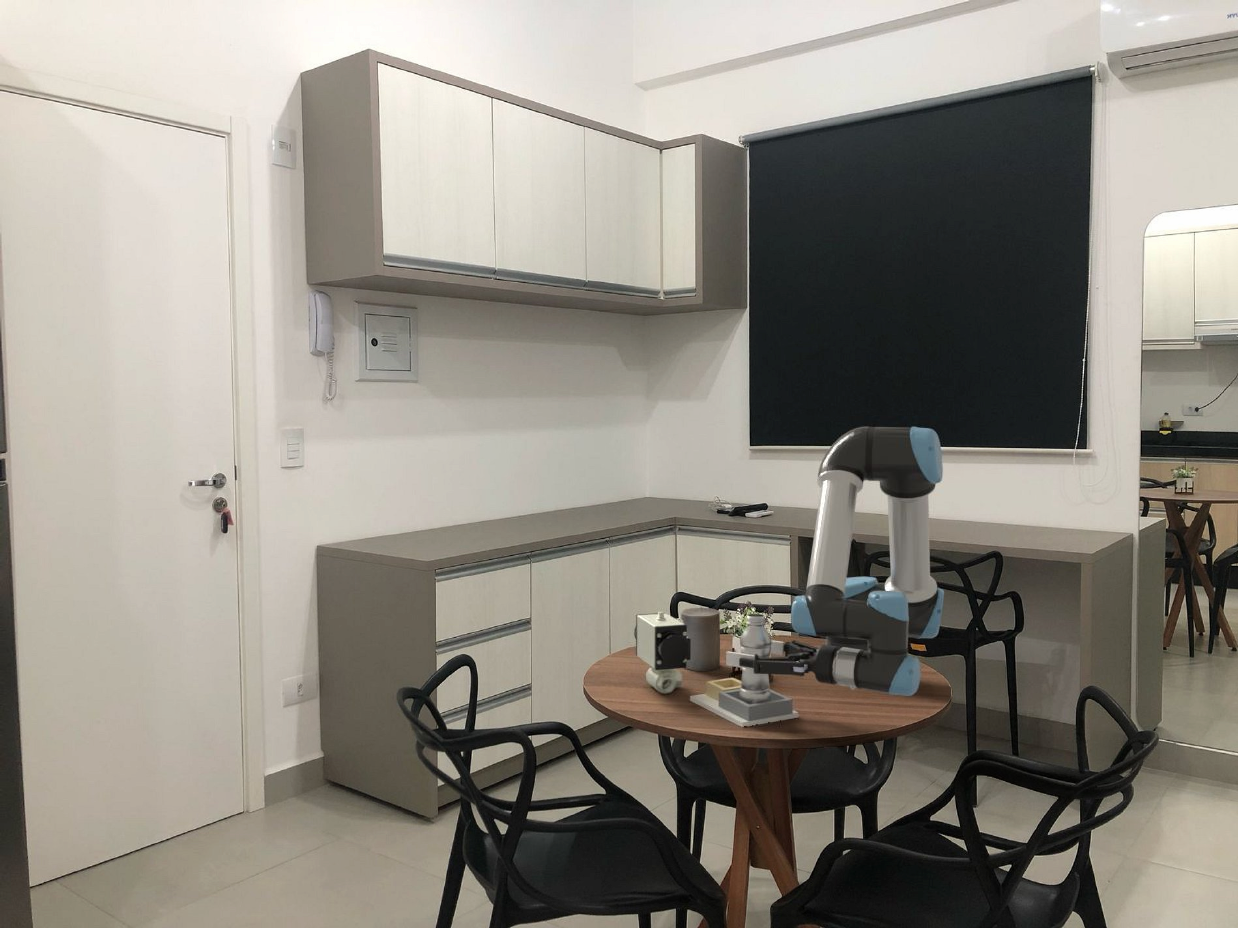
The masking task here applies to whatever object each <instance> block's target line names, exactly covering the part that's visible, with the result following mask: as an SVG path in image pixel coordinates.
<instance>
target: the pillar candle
mask: <svg viewBox="0 0 1238 928" xmlns="http://www.w3.org/2000/svg"><path fill="white" fill-rule="evenodd" d="M679 613H680V620H683V622H684V624H685V625H687V637H688V638H690V639H691V659H690V660H687V664H686V668H685V669H686V670H690V671H693V670H694V671H695V672H707V671H713V670H717V669H720V667H721V664H720V663H721V662H720V661H721V655H720V654H721V626H720V625H721V624H720V623H721V620H720V619H721V618H720V617H721V616H720V615H721V614H720V611H719V610H718V609H715V608H710V607H689V608H685V609H682V610H681V611H680V612H679Z"/></svg>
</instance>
